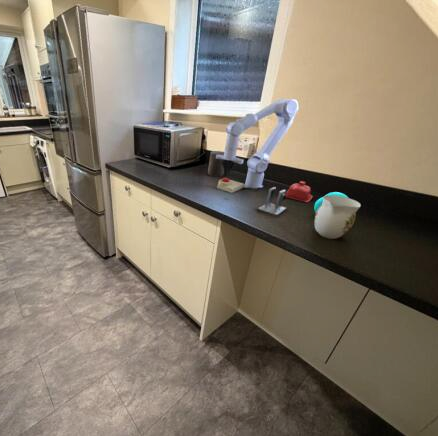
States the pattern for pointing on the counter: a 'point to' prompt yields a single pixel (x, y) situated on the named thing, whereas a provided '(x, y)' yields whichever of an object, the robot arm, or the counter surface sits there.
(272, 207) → the bracket
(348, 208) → the pitcher
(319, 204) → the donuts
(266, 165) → the robot arm
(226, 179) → the button
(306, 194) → the butter dish
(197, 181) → the counter surface
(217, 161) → the pillar candle
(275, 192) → the lever
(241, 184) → the button box
